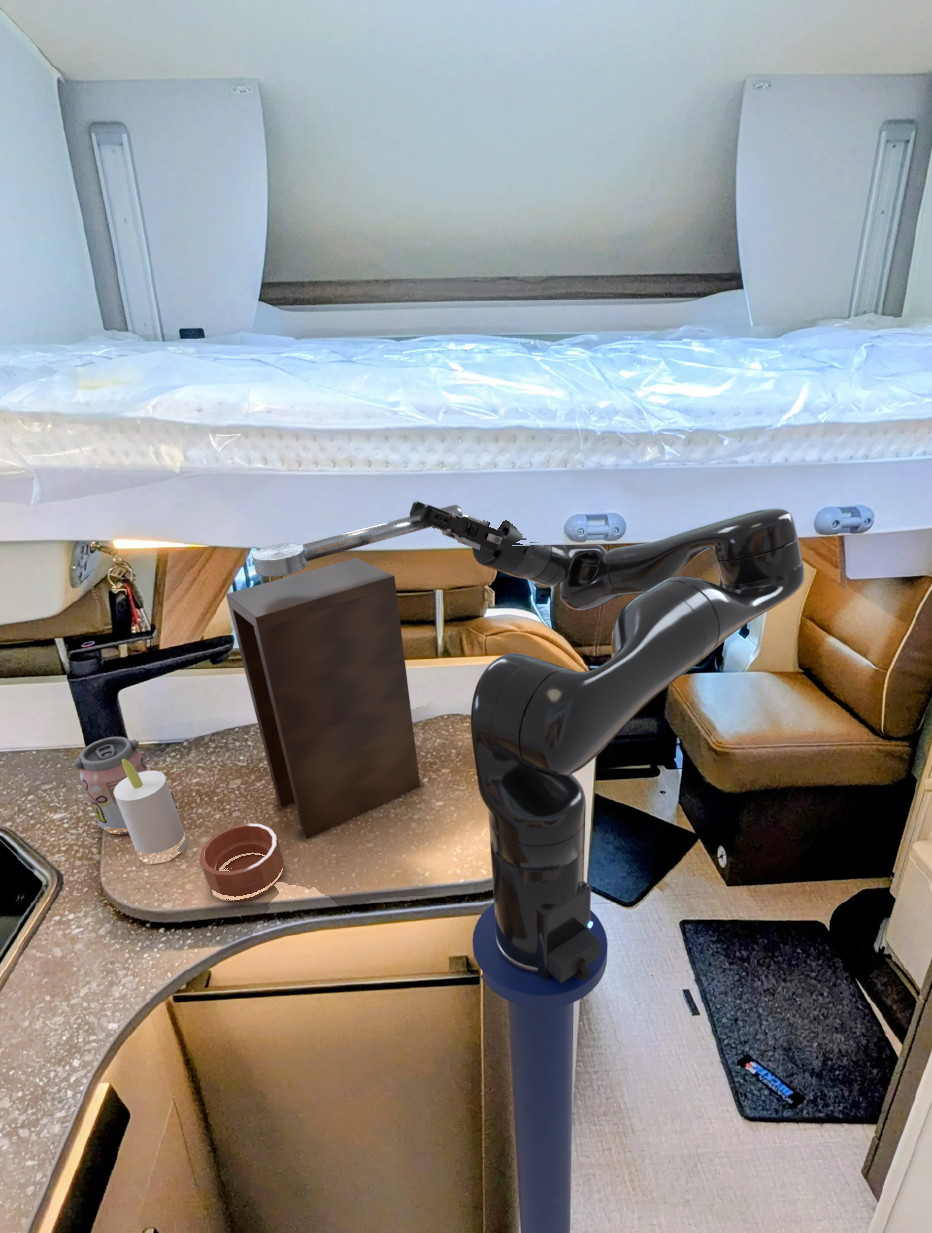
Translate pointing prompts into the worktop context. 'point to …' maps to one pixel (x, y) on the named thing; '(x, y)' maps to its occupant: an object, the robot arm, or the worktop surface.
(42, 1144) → the worktop surface
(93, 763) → the beverage can
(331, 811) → the shelf
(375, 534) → the ladle
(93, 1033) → the worktop surface
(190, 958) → the worktop surface
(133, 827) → the candle
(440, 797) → the worktop surface
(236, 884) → the bowl
